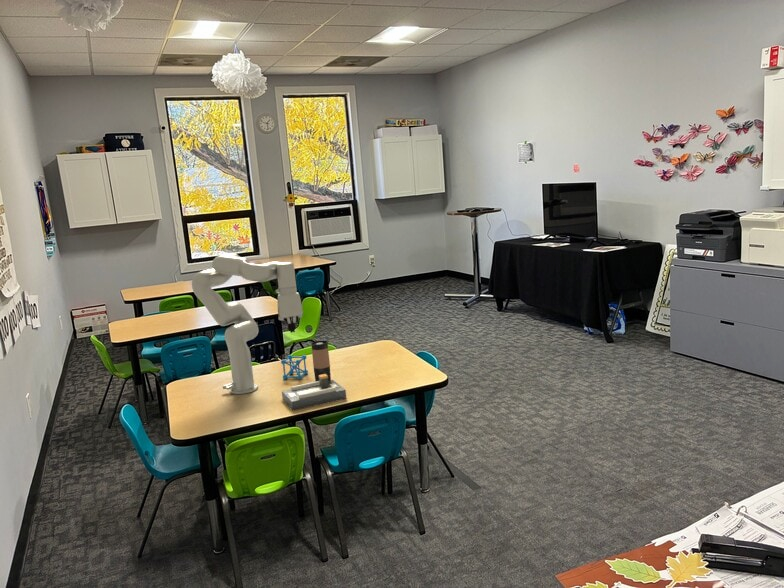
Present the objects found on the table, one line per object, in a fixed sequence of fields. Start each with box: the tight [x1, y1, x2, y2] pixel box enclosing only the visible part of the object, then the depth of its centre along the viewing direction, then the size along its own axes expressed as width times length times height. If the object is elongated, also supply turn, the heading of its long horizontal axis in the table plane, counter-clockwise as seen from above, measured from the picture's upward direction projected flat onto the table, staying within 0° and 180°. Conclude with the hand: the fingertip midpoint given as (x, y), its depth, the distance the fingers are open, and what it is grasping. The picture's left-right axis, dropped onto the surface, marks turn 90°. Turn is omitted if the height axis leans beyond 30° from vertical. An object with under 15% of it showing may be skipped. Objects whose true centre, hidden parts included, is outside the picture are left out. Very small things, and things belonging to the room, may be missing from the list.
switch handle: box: [319, 374, 329, 389], centre depth 259 cm, size 3×3×5 cm
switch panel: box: [281, 379, 347, 411], centre depth 257 cm, size 24×16×5 cm, turn 115°
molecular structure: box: [280, 354, 309, 380], centre depth 290 cm, size 10×10×10 cm
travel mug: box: [311, 340, 332, 382], centre depth 275 cm, size 8×8×20 cm
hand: (292, 331), depth 260 cm, fingers closed
